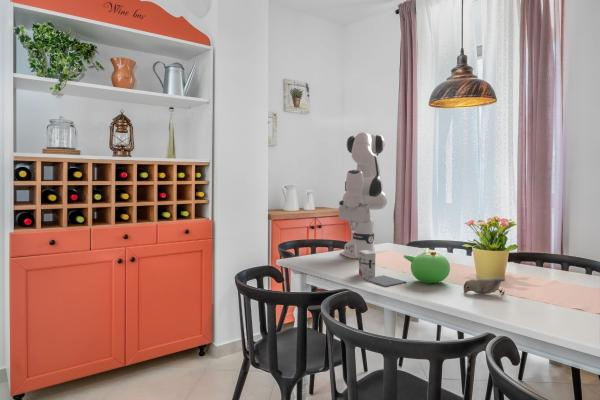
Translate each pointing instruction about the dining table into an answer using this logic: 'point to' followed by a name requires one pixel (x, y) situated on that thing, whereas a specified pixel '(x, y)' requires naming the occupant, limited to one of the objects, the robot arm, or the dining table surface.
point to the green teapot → (429, 267)
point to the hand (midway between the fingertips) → (353, 230)
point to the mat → (384, 281)
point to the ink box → (367, 263)
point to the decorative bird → (483, 285)
